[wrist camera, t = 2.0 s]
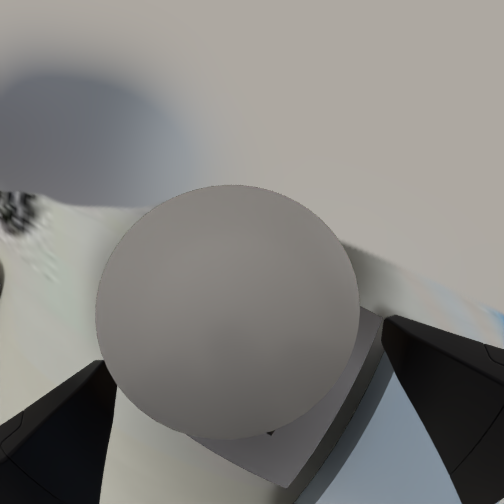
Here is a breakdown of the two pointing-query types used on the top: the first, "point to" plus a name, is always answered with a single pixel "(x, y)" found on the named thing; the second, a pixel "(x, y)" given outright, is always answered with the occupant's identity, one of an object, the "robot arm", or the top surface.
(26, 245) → the top surface
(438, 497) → the parts tray
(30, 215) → the top surface
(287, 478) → the fuse holder
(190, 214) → the fuse
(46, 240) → the top surface
